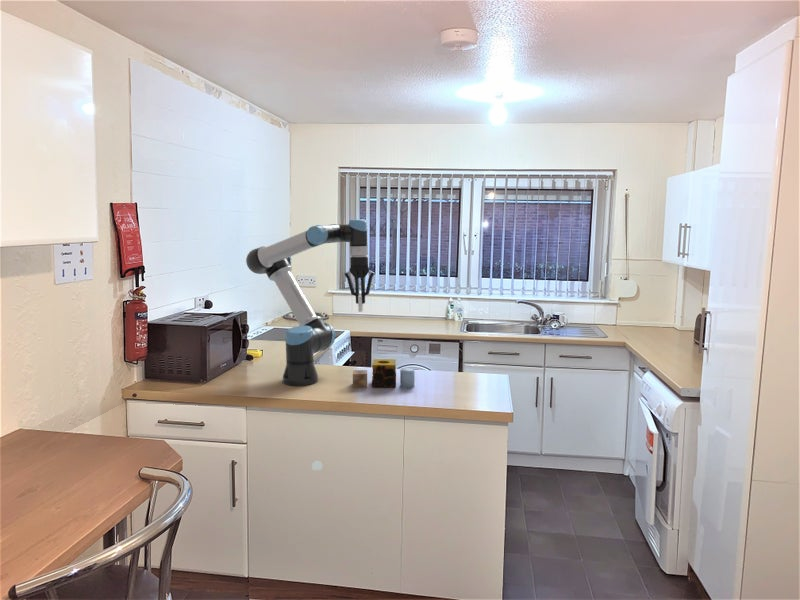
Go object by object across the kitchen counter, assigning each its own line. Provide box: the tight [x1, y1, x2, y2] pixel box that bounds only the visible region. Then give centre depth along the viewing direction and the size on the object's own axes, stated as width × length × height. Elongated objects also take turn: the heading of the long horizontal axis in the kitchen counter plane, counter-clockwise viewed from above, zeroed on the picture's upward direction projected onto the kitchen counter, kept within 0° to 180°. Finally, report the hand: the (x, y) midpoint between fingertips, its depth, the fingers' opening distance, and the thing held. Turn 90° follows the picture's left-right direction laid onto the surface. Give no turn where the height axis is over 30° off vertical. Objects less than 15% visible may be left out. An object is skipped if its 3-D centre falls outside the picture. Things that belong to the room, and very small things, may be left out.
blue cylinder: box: [399, 367, 416, 389], centre depth 253 cm, size 6×6×7 cm
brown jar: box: [352, 369, 368, 389], centre depth 253 cm, size 6×6×6 cm
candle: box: [371, 358, 397, 389], centre depth 255 cm, size 10×10×10 cm
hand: (360, 311), depth 256 cm, fingers closed
